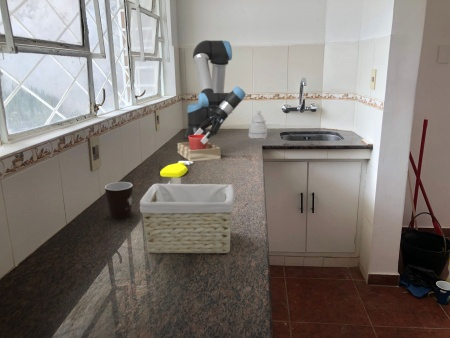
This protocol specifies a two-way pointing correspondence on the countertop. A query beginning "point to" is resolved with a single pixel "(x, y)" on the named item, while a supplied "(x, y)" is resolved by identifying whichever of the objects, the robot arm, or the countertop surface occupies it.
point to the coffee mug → (119, 199)
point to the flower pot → (196, 142)
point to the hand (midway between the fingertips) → (198, 140)
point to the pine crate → (199, 152)
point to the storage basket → (188, 218)
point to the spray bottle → (175, 169)
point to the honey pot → (258, 127)
